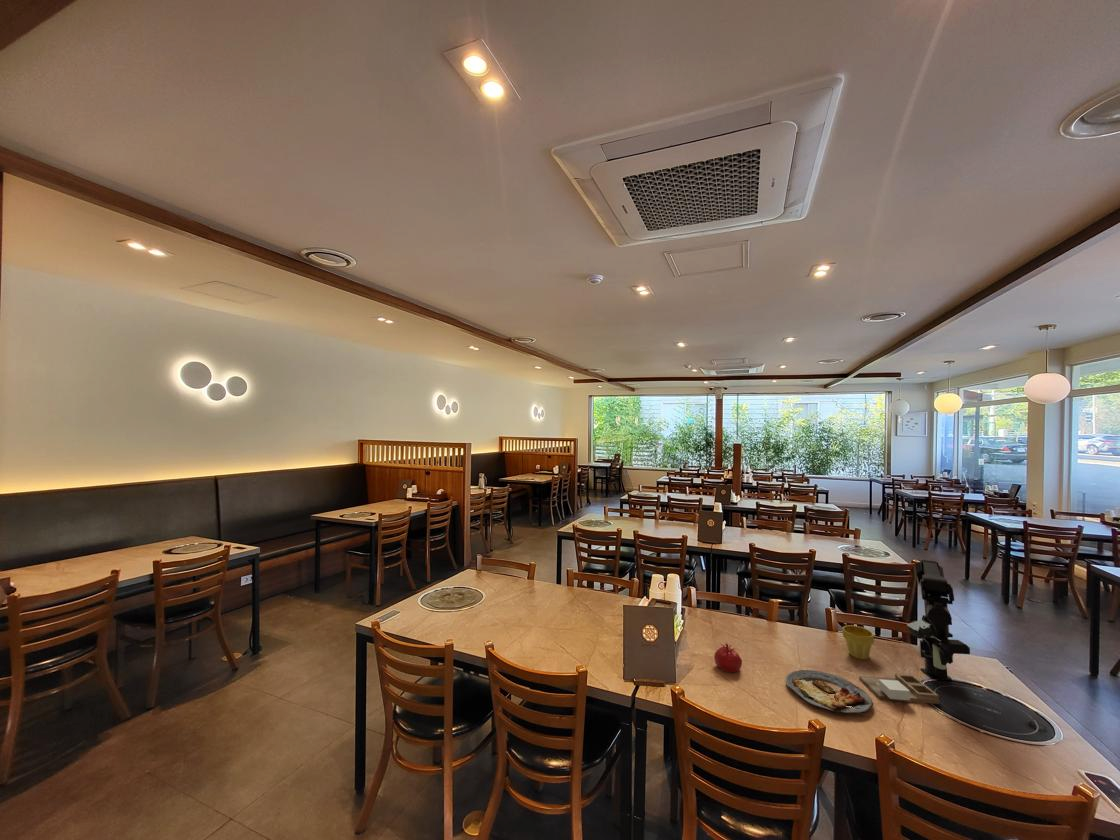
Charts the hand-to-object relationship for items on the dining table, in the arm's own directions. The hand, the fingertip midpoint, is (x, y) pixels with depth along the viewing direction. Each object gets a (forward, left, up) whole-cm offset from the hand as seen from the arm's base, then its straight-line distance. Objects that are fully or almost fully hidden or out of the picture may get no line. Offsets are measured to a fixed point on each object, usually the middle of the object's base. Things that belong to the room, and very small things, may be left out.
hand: (939, 662), depth 141 cm
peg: (0, 0, -2) cm, 2 cm away
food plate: (+3, -37, -12) cm, 39 cm away
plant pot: (-27, -12, -12) cm, 31 cm away
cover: (+3, -16, -10) cm, 19 cm away
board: (-2, -12, -12) cm, 17 cm away
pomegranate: (-10, -67, -12) cm, 69 cm away
